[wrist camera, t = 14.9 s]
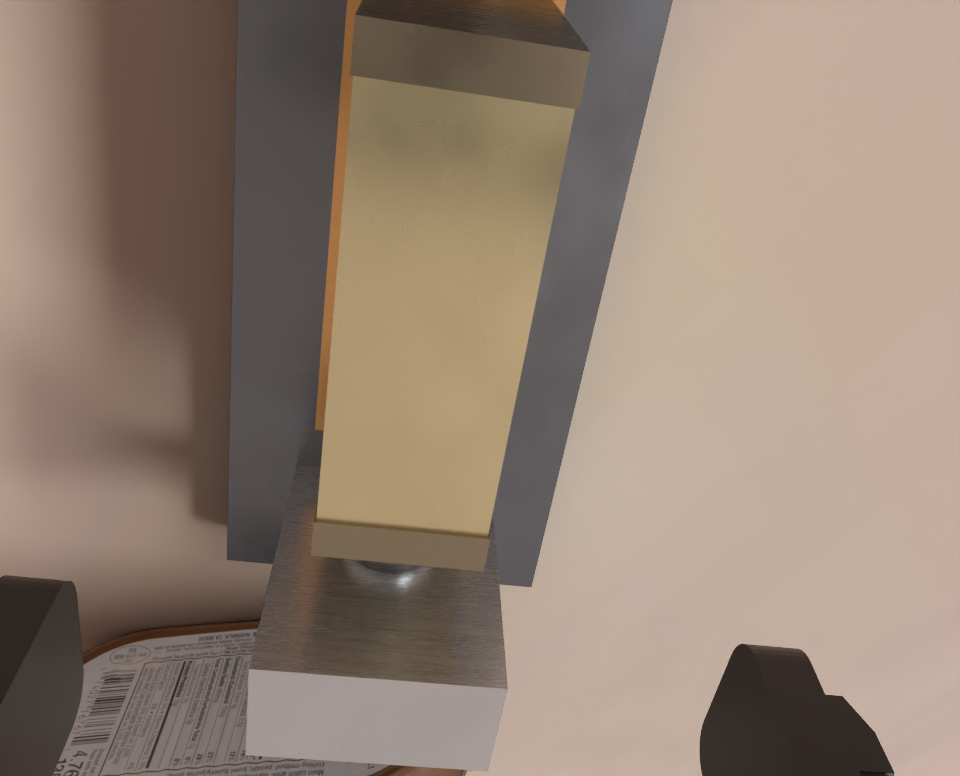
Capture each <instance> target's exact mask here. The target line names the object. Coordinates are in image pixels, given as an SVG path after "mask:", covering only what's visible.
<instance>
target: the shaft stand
mask: <svg viewBox="0 0 960 776" xmlns="http://www.w3.org/2000/svg"><path fill="white" fill-rule="evenodd" d="M549 1H554V3H555V4H556V5H557V7H558V8H559V9H560V11H561V12H562V14H563V15H564V16H565V18H566V19H567V20H568V22H569V23H570V24H571V26H572V27H573V28H574V30H575V31H576V33H577V34H578V35H579V37H580V38H581V39H582V41H583V42H584V43H585V45H586V46H587V48H588V49H589V50H590V52H591V54H590V58H589V63H588V68H587V73H586V78H585V83H584V88H583V92H582V97H581V102H580V107H579V110H577V109H575V113H574V118H573V123H572V127H571V132H570V137H569V142H568V147H567V152H566V157H565V162H564V167H563V171H562V176H561V181H560V186H559V191H558V196H557V201H556V206H555V211H554V216H553V220H552V225H551V230H550V235H549V240H548V245H547V250H546V255H545V260H544V264H543V269H542V274H541V279H540V284H539V289H538V294H537V299H536V304H535V308H534V313H533V318H532V323H531V328H530V333H529V338H528V343H527V348H526V353H525V357H524V362H523V367H522V372H521V377H520V382H519V387H518V392H517V397H516V401H515V406H514V411H513V416H512V421H511V426H510V431H509V436H508V441H507V445H506V450H505V455H504V460H503V465H502V470H501V475H500V480H499V485H498V489H497V494H496V499H495V504H494V509H493V514H492V519H491V524H490V529H489V530H490V543H489V548H488V553H487V557H486V562H485V567H484V572H482V571H472V570H461V569H450V568H439V567H428V566H418V565H407V564H396V563H385V562H374V561H364V560H353V559H342V558H331V557H320V556H311V548H312V536H313V524H314V517H315V512H316V507H317V501H318V493H319V481H320V469H321V457H322V445H323V433H324V421H325V409H326V397H327V385H328V373H329V361H330V349H331V337H332V325H333V313H334V301H335V289H336V276H337V264H338V252H339V240H340V228H341V216H342V204H343V192H344V180H345V168H346V156H347V144H348V132H349V120H350V108H351V96H352V84H353V76H352V75H350V68H351V56H352V44H353V31H354V19H355V13H356V11H357V9H358V8H359V6H360V4H361V2H362V0H238V13H237V65H236V118H235V170H234V222H233V274H232V326H231V378H230V430H229V482H228V534H227V560H235V561H246V562H258V563H269V564H273V567H272V571H271V575H270V580H269V584H268V588H267V593H266V597H265V601H264V606H263V610H262V614H261V618H260V623H259V627H258V631H257V636H256V640H255V644H254V649H253V653H252V657H251V662H250V666H249V676H248V702H247V729H246V755H251V756H266V757H281V758H296V759H310V760H325V761H340V762H355V763H370V764H385V765H400V766H415V767H430V768H445V769H460V770H474V771H488V768H489V764H490V760H491V756H492V751H493V747H494V743H495V739H496V735H497V731H498V727H499V722H500V718H501V714H502V710H503V706H504V702H505V698H506V694H507V689H508V688H507V676H506V663H505V651H504V638H503V626H502V613H501V601H500V589H499V584H502V585H514V586H525V587H531V586H532V582H533V578H534V574H535V569H536V565H537V561H538V557H539V553H540V549H541V545H542V540H543V536H544V532H545V528H546V524H547V520H548V516H549V511H550V507H551V503H552V499H553V495H554V491H555V487H556V482H557V478H558V474H559V470H560V466H561V462H562V457H563V453H564V449H565V445H566V441H567V437H568V433H569V428H570V424H571V420H572V416H573V412H574V408H575V404H576V399H577V395H578V391H579V387H580V383H581V379H582V374H583V370H584V366H585V362H586V358H587V354H588V350H589V345H590V341H591V337H592V333H593V329H594V325H595V321H596V316H597V312H598V308H599V304H600V300H601V296H602V291H603V287H604V283H605V279H606V275H607V271H608V267H609V262H610V258H611V254H612V250H613V246H614V242H615V238H616V233H617V229H618V225H619V221H620V217H621V213H622V209H623V204H624V200H625V196H626V192H627V188H628V184H629V179H630V175H631V171H632V167H633V163H634V159H635V155H636V150H637V146H638V142H639V138H640V134H641V130H642V126H643V121H644V117H645V113H646V109H647V105H648V101H649V96H650V92H651V88H652V84H653V80H654V76H655V72H656V67H657V63H658V59H659V55H660V51H661V47H662V43H663V38H664V34H665V30H666V26H667V22H668V18H669V13H670V9H671V5H672V1H673V0H549Z"/></svg>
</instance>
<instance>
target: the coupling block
mask: <svg viewBox="0 0 960 776" xmlns="http://www.w3.org/2000/svg"><path fill="white" fill-rule="evenodd" d="M590 54H591V52H590V50H589V49H588V48H587V46H586V45H585V43H584V42H583V41H582V39H581V38H580V37H579V35H578V34H577V33H576V31H575V30H574V28H573V27H572V26H571V24H570V23H569V22H568V20H567V19H566V18H565V16H564V15H563V14H562V12H561V11H560V9H559V8H558V7H557V5H556V4H555V3H554V1H549V0H362V2H361V4H360V6H359V8H358V9H357V11H356V13H355V19H354V31H353V44H352V56H351V68H350V75H352V76H353V84H352V96H351V108H350V120H349V132H348V144H347V156H346V168H345V180H344V192H343V204H342V216H341V228H340V240H339V252H338V264H337V276H336V289H335V301H334V313H333V325H332V337H331V349H330V361H329V373H328V385H327V397H326V409H325V421H324V433H323V445H322V457H321V469H320V481H319V493H318V501H317V507H316V512H315V517H314V524H313V536H312V548H311V556H320V557H331V558H342V559H353V560H364V561H374V562H385V563H396V564H407V565H418V566H428V567H439V568H450V569H461V570H472V571H482V572H484V567H485V562H486V557H487V553H488V548H489V543H490V530H489V529H490V524H491V519H492V514H493V509H494V504H495V499H496V494H497V489H498V485H499V480H500V475H501V470H502V465H503V460H504V455H505V450H506V445H507V441H508V436H509V431H510V426H511V421H512V416H513V411H514V406H515V401H516V397H517V392H518V387H519V382H520V377H521V372H522V367H523V362H524V357H525V353H526V348H527V343H528V338H529V333H530V328H531V323H532V318H533V313H534V308H535V304H536V299H537V294H538V289H539V284H540V279H541V274H542V269H543V264H544V260H545V255H546V250H547V245H548V240H549V235H550V230H551V225H552V220H553V216H554V211H555V206H556V201H557V196H558V191H559V186H560V181H561V176H562V171H563V167H564V162H565V157H566V152H567V147H568V142H569V137H570V132H571V127H572V123H573V118H574V113H575V109H577V110H579V107H580V102H581V97H582V92H583V88H584V83H585V78H586V73H587V68H588V63H589V58H590Z"/></svg>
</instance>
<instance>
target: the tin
mask: <svg viewBox="0 0 960 776" xmlns="http://www.w3.org/2000/svg"><path fill="white" fill-rule="evenodd" d="M259 623H260V621H250V622H237V623H223V624H210V625H197V626H183V627H170V628H159V629H153V630H146V631H141V632H136V633H133V634H129V635H126V636H122V637H119V638H116V639H114V640H111V641H108V642H106V643H103V644H101V645H98V646H96V647H94V648H92V649H90V650H88V651H86V652H84V653H83V654H82V657H83V668H84V680H83V689H82V696H81V701H80V705H79V710H78V713H77V717H76V720H75V723H74V725H73V728H72V730H71V733H70V735H69V738H68V740H67V742H66V745H65V747H64V749H63V752H62V754H61V757H60V759H59V761H58V764H57V766H56V769H55V771H54V773H53V776H465V775H466V772H467V770H460V769H445V768H430V767H415V766H400V765H385V764H370V763H355V762H340V761H325V760H310V759H296V758H281V757H266V756H251V755H246V729H247V702H248V676H249V666H250V662H251V657H252V653H253V649H254V644H255V640H256V636H257V631H258V627H259Z"/></svg>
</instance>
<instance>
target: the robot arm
mask: <svg viewBox="0 0 960 776" xmlns="http://www.w3.org/2000/svg"><path fill="white" fill-rule="evenodd" d="M83 680H84V668H83V657H82V646H81V635H80V624H79V613H78V603H77V593H76V588H75V585H74V583H73V582H71V581H62V580H51V579H40V578H29V577H18V576H7V575H5V576H2V577H1V578H0V776H53V773H54V771H55V769H56V766H57V764H58V761H59V759H60V757H61V754H62V752H63V749H64V747H65V745H66V742H67V740H68V738H69V735H70V733H71V730H72V728H73V725H74V723H75V720H76V717H77V713H78V710H79V705H80V701H81V696H82V689H83ZM700 764H701V770H702V775H703V776H894V771H893V769H892V767H891V765H890V763H889V761H888V759H887V757H886V755H885V752H884V750H883V748H882V746H881V744H880V742H879V740H878V738H877V736H876V734H875V732H874V731H873V730H872V729H871V728H870V727H869V725H868V724H867V723H866V722H865V721H864V720H863V719H862V718H861V717H860V715H859V714H858V713H857V712H856V711H855V710H854V709H853V708H852V706H851V705H850V704H849V703H848V702H847V701H846V700H845V699H844V698H843V696H834V695H825V694H824V691H823V689H822V687H821V684H820V682H819V680H818V678H817V675H816V673H815V671H814V669H813V666H812V664H811V662H810V660H809V658H808V657H807V655H806V654H805V653H804V652H803V651H802V650H800V649H793V648H782V647H770V646H759V645H748V644H740V645H738V646H737V647H736V648H735V650H734V651H733V653H732V655H731V657H730V660H729V662H728V665H727V667H726V669H725V672H724V674H723V677H722V679H721V681H720V684H719V686H718V689H717V691H716V693H715V696H714V698H713V701H712V703H711V705H710V708H709V710H708V713H707V715H706V717H705V720H704V723H703V726H702V730H701V736H700Z"/></svg>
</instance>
